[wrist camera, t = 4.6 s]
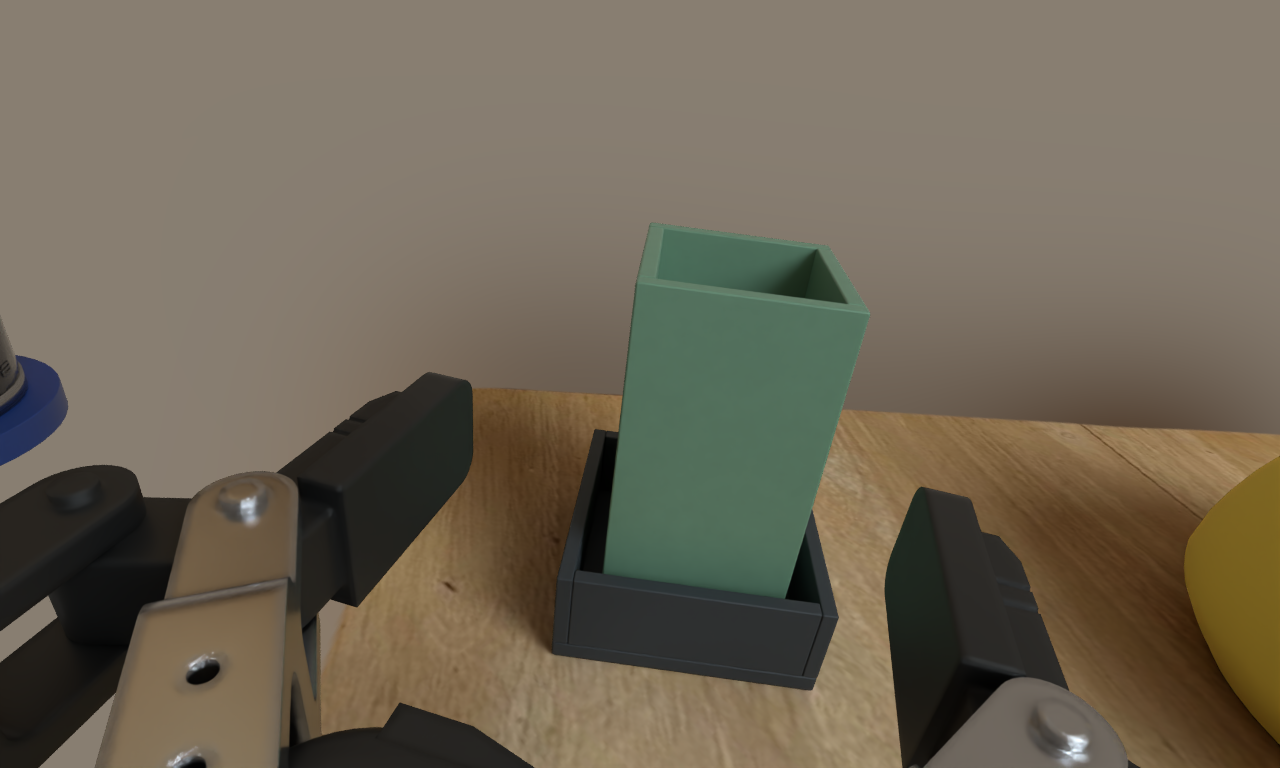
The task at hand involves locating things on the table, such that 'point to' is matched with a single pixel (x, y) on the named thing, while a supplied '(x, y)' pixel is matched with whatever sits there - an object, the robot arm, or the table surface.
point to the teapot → (1242, 590)
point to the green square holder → (728, 407)
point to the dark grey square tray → (685, 605)
